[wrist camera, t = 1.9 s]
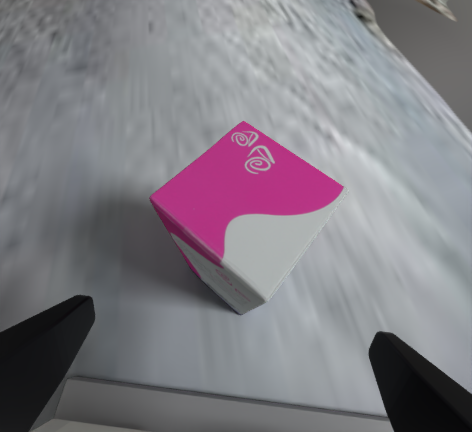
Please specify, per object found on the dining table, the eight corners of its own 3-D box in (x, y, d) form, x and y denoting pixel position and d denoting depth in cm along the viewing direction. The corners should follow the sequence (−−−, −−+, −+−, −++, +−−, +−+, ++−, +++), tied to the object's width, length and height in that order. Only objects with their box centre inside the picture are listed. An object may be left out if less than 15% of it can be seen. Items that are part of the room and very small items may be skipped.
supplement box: (286, 259, 19) (358, 190, 9) (240, 317, 17) (262, 316, 7) (234, 216, 21) (243, 113, 10) (186, 266, 19) (137, 201, 8)
